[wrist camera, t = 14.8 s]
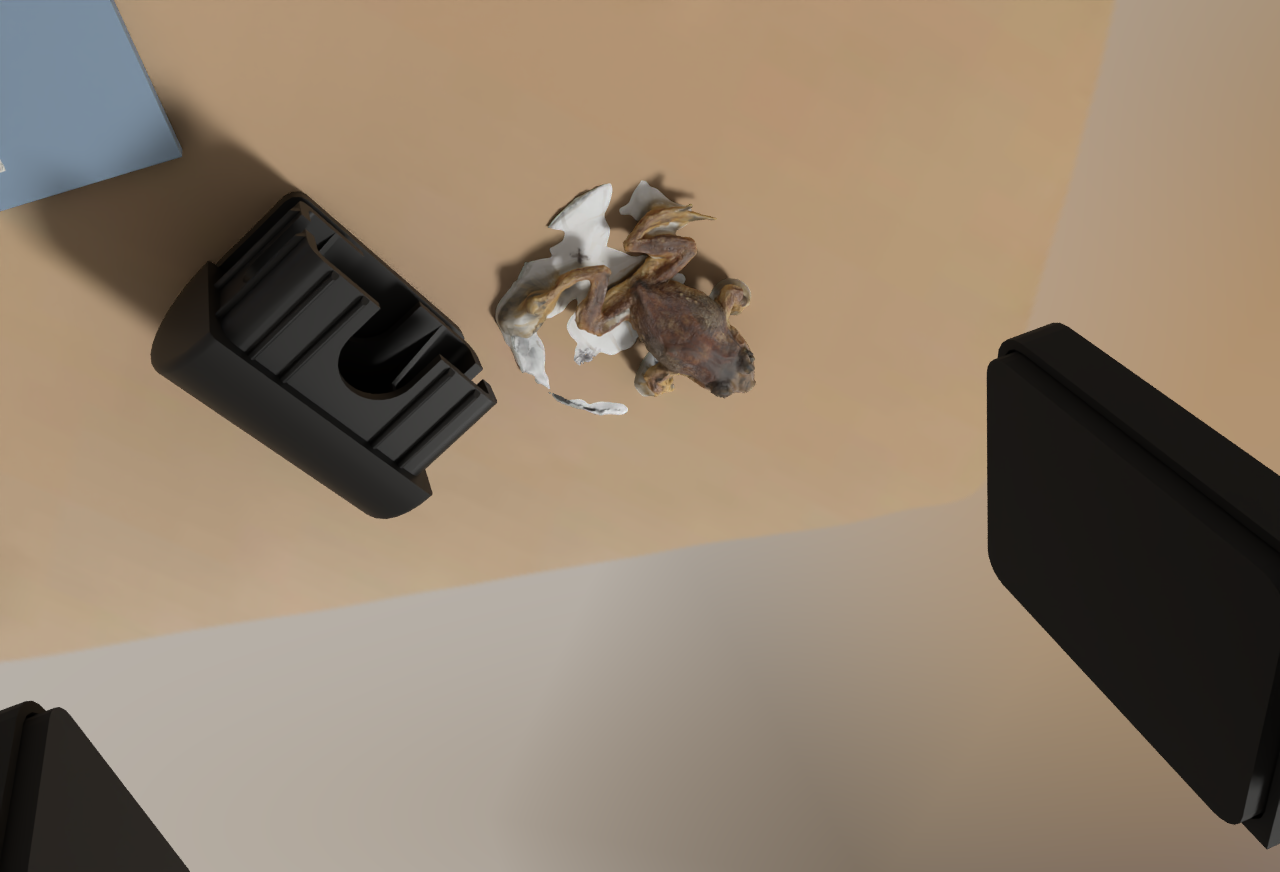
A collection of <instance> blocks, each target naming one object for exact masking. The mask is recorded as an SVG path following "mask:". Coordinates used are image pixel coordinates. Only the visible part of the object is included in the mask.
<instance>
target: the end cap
mask: <svg viewBox="0 0 1280 872" xmlns="http://www.w3.org/2000/svg"><path fill="white" fill-rule="evenodd" d="M151 363H152V365H153V367H154V369H155V370H156V371H157V372H158V373H159V374H161V375H162V376H164V377H165V378H167V379H168V380H170V381H171V382H172V383H174V384H175V385H177V386H178V387H180V388H181V389H183V390H184V391H186V392H187V393H189V394H190V395H192V396H193V397H195V398H196V399H198V400H199V401H201V402H202V403H203V404H205V405H206V406H208V407H209V408H211V409H212V410H214V411H215V412H217V413H218V414H220V415H221V416H223V417H224V418H226V419H227V420H229V421H230V422H231V423H233V424H234V425H236V426H237V427H239V428H240V429H242V430H243V431H245V432H246V433H248V434H249V435H251V436H252V437H254V438H255V439H257V440H258V441H260V442H261V443H262V444H264V445H265V446H267V447H268V448H270V449H271V450H273V451H274V452H276V453H277V454H279V455H280V456H282V457H283V458H285V459H286V460H288V461H289V462H290V463H292V464H293V465H295V466H296V467H298V468H299V469H301V470H302V471H304V472H305V473H307V474H308V475H310V476H311V477H313V478H314V479H316V480H317V481H319V482H320V483H321V484H323V485H324V486H326V487H327V488H329V489H330V490H332V491H333V492H335V493H336V494H338V495H339V496H341V497H342V498H344V499H345V500H347V501H348V502H349V503H351V504H352V505H354V506H355V507H357V508H358V509H360V510H361V511H363V512H364V513H366V514H367V515H370V516H372V517H374V518H380V519H389V518H393V517H397V516H400V515H402V514H405V513H407V512H409V511H411V510H412V509H414V508H416V507H417V506H419V505H420V504H422V503H423V502H424V501H425V500H427V499H428V498H429V497H430V496H431V495H432V490H431V487H430V483H429V480H428V477H427V474H426V470H425V469H426V468H427V467H428V466H429V465H430V464H431V463H432V462H433V461H434V460H436V459H437V458H438V457H439V456H440V455H441V454H442V453H443V452H444V451H445V450H446V449H447V448H449V447H450V446H451V445H452V444H453V443H454V442H455V441H456V440H457V439H458V438H459V437H460V436H462V435H463V434H464V433H465V432H466V431H467V430H468V429H469V428H470V427H471V426H472V425H473V424H475V423H476V422H477V421H478V420H479V419H480V418H481V417H482V416H483V415H484V414H485V413H487V412H488V411H489V410H490V409H491V408H492V407H493V406H494V405H495V404H496V403H497V400H496V397H495V395H494V393H493V391H492V388H491V386H490V385H489V384H488V383H487V382H486V381H484V380H483V379H482V380H481V381H480V382H479V383H478V384H477V385H476V384H475V383H474V382H473V381H471V380H472V379H473V378H474V377H475V376H476V375H477V374H478V373H479V372H481V371H482V370H483V368H482V366H481V364H480V361H479V359H478V357H477V355H476V353H475V352H474V350H473V349H472V348H471V347H470V345H469V344H468V343H467V342H466V341H465V340H464V336H463V334H462V332H461V330H460V329H459V327H458V326H457V325H456V324H454V323H453V322H452V321H451V320H450V319H449V318H448V317H446V316H445V315H444V314H443V313H442V312H441V311H440V310H438V309H437V308H436V307H435V306H434V305H433V304H431V303H430V302H429V301H428V300H427V299H426V298H425V297H423V296H422V295H421V294H420V293H419V292H418V291H417V290H415V289H414V288H413V287H412V286H411V285H410V284H408V283H407V282H406V281H405V280H404V279H403V278H402V277H400V276H399V275H398V274H397V273H396V272H395V271H394V270H392V269H391V268H390V267H389V266H388V265H387V264H386V263H384V262H383V261H382V260H381V259H380V258H379V257H377V256H376V255H375V254H374V253H373V252H372V251H371V250H369V249H368V248H367V247H366V246H365V245H364V244H363V243H361V242H360V241H359V240H358V239H357V238H356V237H355V236H353V235H352V234H351V233H350V232H349V231H348V230H346V229H345V228H344V227H343V226H342V225H341V224H340V223H338V222H337V221H336V220H335V219H334V218H333V217H332V216H330V215H329V214H328V213H327V212H326V211H325V210H323V209H322V208H321V207H320V206H319V205H318V204H317V203H315V202H314V201H313V200H312V199H311V198H310V197H309V196H307V195H305V194H303V193H301V192H291V193H289V194H287V195H286V196H284V197H283V198H282V199H281V200H280V201H279V202H278V203H277V204H276V205H275V206H274V207H273V208H272V209H271V210H270V211H269V212H268V213H267V214H266V215H265V216H264V217H263V218H262V219H261V220H260V221H259V222H258V223H257V224H256V225H255V226H254V227H253V228H252V229H251V230H250V231H249V232H248V233H247V234H246V235H245V236H244V237H243V238H242V239H241V240H240V241H239V242H238V243H237V244H235V245H234V246H233V247H232V248H231V249H230V250H229V251H228V252H227V253H226V254H225V255H224V256H223V257H222V258H221V260H220V261H219V262H218V263H217V264H216V265H215V264H213V263H212V262H210V261H208V262H207V263H206V264H205V265H204V266H203V267H202V268H201V269H200V270H199V271H198V272H197V274H196V275H195V276H194V277H193V278H192V279H191V281H190V282H189V283H188V284H187V285H186V287H185V288H184V289H183V291H182V292H181V293H180V295H179V296H178V297H177V299H176V300H175V302H174V303H173V305H172V306H171V307H170V309H169V311H168V312H167V314H166V316H165V317H164V319H163V321H162V323H161V325H160V327H159V329H158V331H157V333H156V336H155V339H154V341H153V344H152V349H151Z"/></svg>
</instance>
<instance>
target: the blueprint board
mask: <svg viewBox="0 0 1280 872" xmlns="http://www.w3.org/2000/svg"><path fill="white" fill-rule="evenodd" d="M179 157H182V148H181V145H180V143H179V141H178V139H177V137H176V135H175V132H174V130H173V128H172V126H171V124H170V122H169V119H168V117H167V115H166V113H165V111H164V108H163V106H162V104H161V102H160V100H159V98H158V95H157V93H156V91H155V89H154V87H153V84H152V82H151V80H150V78H149V76H148V74H147V71H146V69H145V67H144V65H143V63H142V61H141V58H140V56H139V54H138V52H137V50H136V47H135V45H134V43H133V41H132V39H131V37H130V34H129V32H128V30H127V28H126V26H125V24H124V21H123V19H122V17H121V15H120V13H119V10H118V8H117V6H116V4H115V2H114V0H0V211H3V210H6V209H9V208H13V207H16V206H19V205H23V204H26V203H29V202H33V201H36V200H39V199H43V198H46V197H49V196H53V195H56V194H59V193H63V192H66V191H69V190H72V189H76V188H79V187H82V186H86V185H89V184H92V183H96V182H99V181H102V180H106V179H109V178H112V177H116V176H119V175H122V174H126V173H129V172H132V171H136V170H139V169H142V168H146V167H149V166H152V165H156V164H159V163H162V162H166V161H169V160H172V159H176V158H179Z"/></svg>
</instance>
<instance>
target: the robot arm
mask: <svg viewBox="0 0 1280 872" xmlns="http://www.w3.org/2000/svg"><path fill="white" fill-rule="evenodd" d="M987 490H988V491H987V493H988V494H987V495H988V555H989V559H990V562H991V565H992V567H993V570H994V572H995V574H996V575H997V577H998V579H999V580H1000V581H1001V583H1002V584H1003V585H1004V586H1005V587H1006V588H1007V589H1008V590H1009V592H1010V593H1011V594H1012V595H1013V596H1014V597H1015V598H1016V599H1017V600H1018V601H1019V602H1020V603H1021V604H1022V606H1023V607H1024V608H1025V609H1026V610H1027V611H1028V612H1029V613H1030V614H1031V615H1032V617H1033V618H1034V619H1035V620H1036V621H1037V622H1038V623H1039V624H1040V625H1041V626H1042V627H1043V628H1044V629H1045V631H1047V633H1048V634H1049V635H1050V636H1051V637H1052V638H1053V639H1054V640H1055V641H1056V642H1057V643H1058V645H1059V646H1060V647H1061V648H1062V649H1063V650H1064V651H1065V652H1066V653H1067V654H1068V655H1069V656H1070V658H1071V659H1072V660H1073V661H1074V662H1075V663H1076V664H1077V665H1078V666H1079V667H1080V668H1081V669H1082V671H1083V672H1084V673H1085V674H1086V675H1087V676H1088V677H1089V678H1090V679H1091V680H1092V681H1093V682H1094V683H1095V685H1097V687H1098V688H1099V689H1100V690H1101V691H1102V692H1103V693H1104V694H1105V695H1106V696H1107V697H1108V699H1109V700H1110V701H1111V702H1112V703H1113V704H1114V705H1115V706H1116V707H1117V708H1118V709H1119V710H1120V712H1121V713H1122V714H1123V715H1124V716H1125V717H1126V718H1127V719H1128V720H1129V721H1130V722H1131V723H1132V725H1133V726H1134V727H1135V728H1136V729H1137V730H1138V731H1139V732H1140V733H1141V734H1142V735H1143V736H1144V737H1145V739H1146V740H1147V741H1148V742H1149V743H1150V744H1151V745H1152V746H1153V747H1154V748H1155V749H1156V751H1157V752H1158V753H1159V754H1160V755H1161V756H1162V757H1163V758H1164V759H1165V760H1166V761H1167V762H1168V763H1169V765H1170V766H1171V767H1172V768H1173V769H1174V770H1175V771H1176V772H1177V773H1178V774H1179V775H1180V776H1181V778H1183V780H1184V781H1185V782H1186V783H1187V784H1188V785H1189V786H1190V787H1191V788H1192V789H1193V790H1194V791H1195V793H1196V794H1197V795H1198V796H1199V797H1200V798H1201V799H1202V800H1203V801H1204V802H1205V803H1206V805H1207V806H1208V807H1209V808H1210V809H1211V810H1212V811H1213V812H1214V813H1215V814H1216V815H1217V816H1218V817H1219V818H1221V819H1222V820H1224V821H1226V822H1227V823H1230V824H1234V825H1235V824H1238V823H1242V824H1243V825H1244V826H1245V827H1246V828H1247V829H1248V830H1249V831H1250V832H1251V833H1252V834H1253V835H1254V836H1255V837H1256V839H1257V840H1258V841H1259V842H1260V843H1261V844H1262V845H1263V846H1264V847H1265V848H1266V849H1269V848H1271V847H1273V846H1276V845H1278V844H1279V843H1280V476H1279V475H1278V474H1276V473H1275V472H1273V471H1272V470H1271V469H1269V468H1268V467H1266V466H1265V465H1263V464H1262V463H1261V462H1259V461H1258V460H1256V459H1255V458H1253V457H1252V456H1251V455H1249V454H1248V453H1246V452H1245V451H1244V450H1242V449H1241V448H1239V447H1238V446H1236V445H1235V444H1233V443H1232V442H1231V441H1229V440H1228V439H1227V438H1225V437H1224V436H1222V435H1221V434H1219V433H1218V432H1217V431H1215V430H1214V429H1212V428H1211V427H1209V426H1208V425H1207V424H1205V423H1204V422H1202V421H1201V420H1199V419H1198V418H1196V417H1195V416H1194V415H1193V414H1191V413H1190V412H1188V411H1187V410H1185V409H1184V408H1183V407H1181V406H1180V405H1178V404H1177V403H1176V402H1174V401H1173V400H1171V399H1170V398H1168V397H1167V396H1166V395H1164V394H1163V393H1161V392H1160V391H1159V390H1157V389H1156V388H1154V387H1153V386H1151V385H1150V384H1149V383H1147V382H1146V381H1144V380H1143V379H1141V378H1140V377H1139V376H1137V375H1135V374H1134V373H1133V372H1132V371H1130V370H1129V369H1127V368H1126V367H1124V366H1123V365H1122V364H1120V363H1119V362H1117V361H1116V360H1115V359H1113V358H1112V357H1110V356H1109V355H1108V354H1106V353H1105V352H1103V351H1102V350H1100V349H1099V348H1098V347H1096V346H1095V345H1093V344H1092V343H1091V342H1089V341H1088V340H1086V339H1085V338H1083V337H1082V336H1081V335H1079V334H1078V333H1076V332H1075V331H1073V330H1072V329H1070V328H1069V327H1067V326H1065V325H1063V324H1061V323H1051V324H1048V325H1046V326H1043V327H1040V328H1038V329H1035V330H1032V331H1030V332H1027V333H1024V334H1021V335H1019V336H1016V337H1013V338H1010V339H1008V340H1006V341H1005V342H1003V343H1002V344H1001V346H1000V348H999V351H998V358H997V359H994V360H993V361H991V362H990V363H989V365H988V369H987ZM0 872H190V871H189V869H188V868H187V867H186V865H185V864H184V863H183V861H182V860H181V859H180V858H179V856H178V855H177V854H176V852H175V851H174V850H173V848H172V847H171V846H170V845H169V843H168V842H167V841H166V839H165V838H164V837H163V835H162V834H161V833H160V831H159V830H158V829H157V828H156V826H155V825H154V824H153V823H152V821H151V820H150V818H149V817H148V816H147V815H146V813H145V812H144V811H143V809H142V808H141V807H140V805H139V804H138V803H137V802H136V800H135V799H134V798H133V796H132V795H131V794H130V792H129V791H128V790H127V789H126V787H125V786H124V785H123V783H122V782H121V781H120V780H119V778H118V777H117V775H116V774H115V773H114V772H113V770H112V769H111V768H110V767H109V765H108V764H107V762H106V761H105V760H104V759H103V757H102V756H101V755H100V753H99V752H98V751H97V749H96V748H95V747H94V746H93V744H92V743H91V742H90V740H89V739H88V738H87V737H86V735H85V734H84V733H83V731H82V730H81V729H80V727H79V726H78V725H77V723H76V722H75V721H74V720H73V718H72V717H71V716H70V715H69V714H68V712H67V711H66V710H64V709H62V708H60V707H57V708H53V709H50V710H48V711H45V710H44V709H43V708H42V707H41V706H40V705H39V704H37V703H36V702H34V701H26V702H23V703H20V704H17V705H15V706H12V707H9V708H6V709H4V710H1V711H0Z"/></svg>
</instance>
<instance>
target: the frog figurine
mask: <svg viewBox="0 0 1280 872" xmlns="http://www.w3.org/2000/svg"><path fill="white" fill-rule="evenodd" d="M611 195H612V186H611V184H610V183H609V184H605V185H601V186H599V187H597V188H595V189H593V190H591V191H588V192H586V193H585V194H584V195H581V196H579V197H577V198H575V199H574V200H573V201H572V202H571V203H570V204H569V205H568V206H567V207H566V208H565V209H564V210H563V211H561V212H560V213H559V214H558V215H557V216H556V217H555V219H554V220H553V221H552V222H551V223H550V225H549V227H548V228H552V229H557V230H563V231H564V232H565V236H564V239H563V241H562V242H560V243H559V244H557V245H555V246H553V247H551V248H550V252H551V254H552V256H551V257H550V258H543V259H539V260H536V261H530V262H525V263H524V266H523V268H522V271H521V272H520V275H519V277H518V280H517V281H515V282H514V283H513V284H512V286H511V288H510V289H509V290H508V291H507V293H506V294H505V295H504V296H503V297H502V299H501V300H500V302H499V303H498V305H497V308H496V312H495V318H496V322H497V324H498V326H499V328H500V330H501V332H502V334H503V337H504V340H505V342H506V344H507V345H508V346H510V348H511V349H512V352H513V354H514V357H515V360H516V362H517V364H518V365H519V367H520V369H521V371H522V373H523V372H526V373H528V374H532V375H534V376H535V381H536V382H537V383H538V384H542V385H544V386H546V387H547V388H548V389H550V387H549V379H548V376H547V375H546V373H545V369H544V365H545V350H544V346H543V343H542V341H541V340H540V338H539V337H538V336H537V331H538V329H539V328H540V327H541V326H542V324H543V322H544V321H545V320H546V318H551V317H553V316H555V315H556V314H558V313H560V312H562V311H563V310H564V309H565V307H566V306H567V305H568V303H569V302H570V301H572V300H574V299H577V301H578V304H577V308H576V311H575V313H574V314H573V316H572V317H571V318H570V319H569V321H568V323H567V329H568V332H569V334H570V335H571V337H572V338H573V339H574V340H575V341H576V342H577V347H576V349H575V356H574V361H575V362H576V363H577V364H578V365H581V362H582V363H583V362H589V361H592V359H593V358H592V356H596V355H597V354H598V353H600V352H603V353H606V354H609V355H614V354H616V353H618V352H620V351H621V350H626V349H628V348H630V347H631V346H632V345H633V344H634V343H635V342H636V339H637V338H638V336H639V338H640V341H642V342H643V343H645V346H646V348H647V350H648V351H649V352H648V353H647V355H646V356H645V358H644V359H643V361H642V362H641V364H640V367H639V369H638V371H637V373H636V377H635V381H634V384H635V387H636V389H637V391H638V392H639V393H640V394H641V395H643V396H654V397H657V396H661V395H662V394H663V393H665V392H672V391H673V390H674V389H675V387H674V384H673V378H672V377H673V376H675V375H679V374H681V375H683V376H687V377H688V378H689V379H691V380H692V381H694V382H695V383H697V384H698V385H700V386H701V387H703V388H705V389H707V390H710V391H711V393H713V394H714V395H716V396H717V397H718V396H720V397H723V398H725V397H728V396H729V395H732V393H740V392H742V393H744V392H746V393H747V392H749V391H750V390H751V389H752V388H753V387H754V386H755V383H756V382H755V380H754V369H755V367H754V360H755V358H754V357H753V353H752V352H751V351H750V348H749V346H748V344H747V342H746V341H745V340H744V338H743V337H742V336H741V335H740V333H739V332H738V331H737V330H736V329H735V328H734V327H733V326H731V325H730V324H729V318H730V316H729V315H740V314H741V312H742V310H743V309H744V308H745V307H746V306H748V305H749V304H750V298H751V292H750V290H749V288H748V286H747V285H746V284H745V283H743V282H742V281H740V280H737V279H724V280H722V281H720V282H718V283H717V284H716V285H715V287H714V288H713V290H712V292H711V294H710V295H709V296H707V295H706V294H704V293H703V292H701V291H699V290H696V289H694V288H690V287H688V286H685V285H683V284H684V282H685V280H686V279H685V276H684V275H683V274H680V273H678V272H679V271H680V270H682V269H683V268H684V267H685V266H686V265H687V264H688V262H689V261H690V260H691V259H693V257H694V256H695V255H696V254H697V248H696V243H695V241H694V240H693V239H692V238H690V237H681V236H676V234H675V232H676V231H677V230H679V229H680V228H682V227H684V226H685V225H687V224H688V223H690V221H695V220H705V219H709V220H717V219H716V218H714V217H711V216H706V215H701V214H699V213H696V212H693V211H692V210H691V208H692V204H689V205H688V206H684V205H680V204H677V203H674V202H672V201H670V200H669V199H668V198H666V197H665V196H664V195H663V194H662V193H661V192H660V191H659V190H658V189H656V188H654V187H650V186H649V184H648V183H647V182H646V181H641V182H640V184H639V185H638V187H637V188H636V189H635V191H634V192H633V194H632V197H631V199H630V202H629V203H628V204H627V205H625V206H623V207H621V208H620V210H619V211H620V214H622V215H631V216H632V217H633V218H634V219H635V220H636V221H637V220H639V222H638V223H637V225H636V226H635V227H634V229H633V231H632V232H631V233H630V235H628V237H627V239H626V240H625V241H624V242H623V246H624V250H625V251H628V252H642V253H646V254H648V255H649V256H648V257H647V256H646V255H641V256H638V257H634V256H630V255H628V254H625V253H623V252H621V251H618V250H615V249H612V248H609V247H607V242H608V238H609V234H610V228H609V226H608V224H607V222H606V220H605V217H604V215H605V211H606V210H607V207H608V205H609V202H610V200H611ZM585 354H587V355H585ZM583 364H584V363H583ZM549 394H551V393H550V392H549ZM552 395H553V397H554V398H555V399H556V400H557V401H558V402H560V403H562V404H565V405H568V406H571V407H574V408H577V409H583V410H587V411H589V412H591V413H593V414H598V415H604V414H615V415H620V414H622V415H623V414H625V413H626V412H627V411H628V409H627V407H626V406H625V405H623V404H620V403H611V402H597V403H593V404H587V403H586V402H585V401H584V400H581V399H576V400H567V399H564V398H563V397H561V396H559V395H556V394H554V393H552Z"/></svg>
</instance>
